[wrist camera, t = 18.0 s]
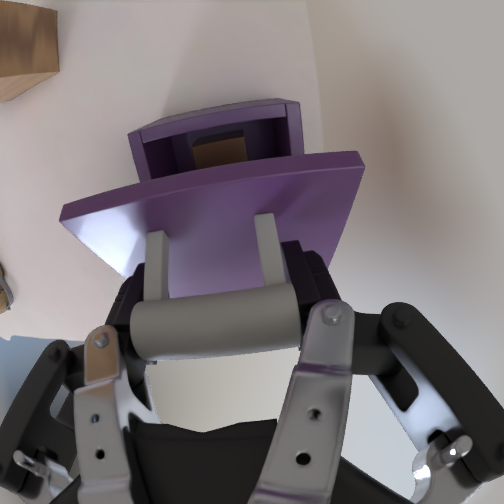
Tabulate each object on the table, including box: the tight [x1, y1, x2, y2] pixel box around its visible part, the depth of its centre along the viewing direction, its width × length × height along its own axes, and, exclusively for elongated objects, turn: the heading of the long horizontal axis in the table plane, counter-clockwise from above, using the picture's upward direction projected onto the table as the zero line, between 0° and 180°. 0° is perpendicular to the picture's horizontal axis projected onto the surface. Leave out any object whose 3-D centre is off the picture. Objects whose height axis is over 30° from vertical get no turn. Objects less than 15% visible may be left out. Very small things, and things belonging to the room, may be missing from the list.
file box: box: [128, 98, 304, 182], centre depth 22 cm, size 16×11×8 cm
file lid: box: [59, 151, 365, 361], centre depth 14 cm, size 17×11×5 cm, turn 8°
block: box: [191, 129, 248, 170], centre depth 22 cm, size 4×4×4 cm
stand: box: [0, 0, 59, 103], centre depth 11 cm, size 8×8×10 cm
